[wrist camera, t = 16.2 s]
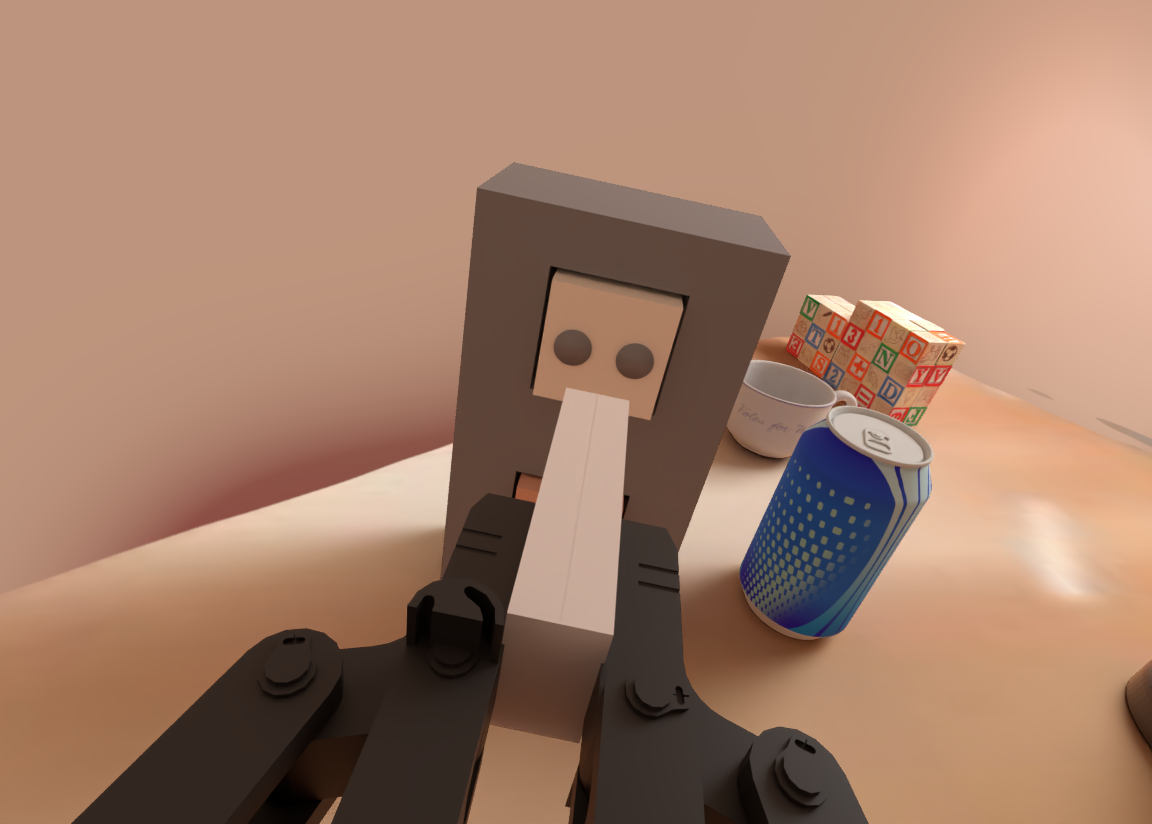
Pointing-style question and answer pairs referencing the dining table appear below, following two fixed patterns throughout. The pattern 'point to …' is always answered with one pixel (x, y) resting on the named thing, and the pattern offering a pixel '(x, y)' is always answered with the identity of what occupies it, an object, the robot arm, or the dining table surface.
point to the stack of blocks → (874, 353)
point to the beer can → (835, 521)
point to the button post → (621, 252)
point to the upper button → (606, 339)
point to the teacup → (779, 407)
